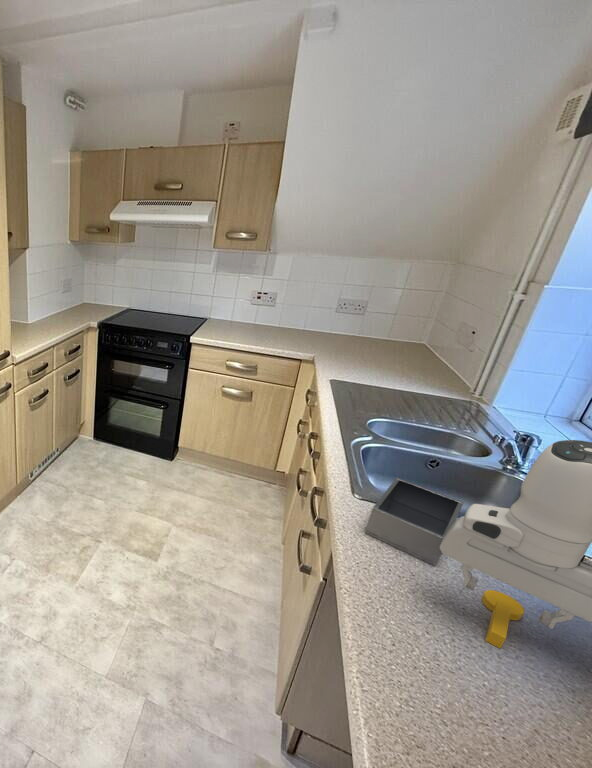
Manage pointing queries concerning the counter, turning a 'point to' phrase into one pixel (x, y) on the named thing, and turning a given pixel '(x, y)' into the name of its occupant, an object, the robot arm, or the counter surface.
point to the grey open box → (413, 519)
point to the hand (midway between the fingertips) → (504, 604)
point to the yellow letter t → (500, 615)
